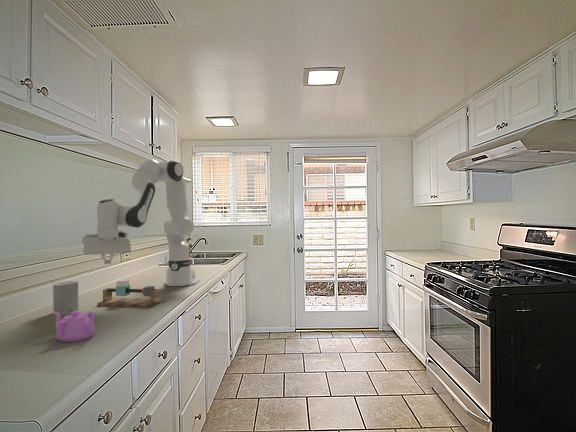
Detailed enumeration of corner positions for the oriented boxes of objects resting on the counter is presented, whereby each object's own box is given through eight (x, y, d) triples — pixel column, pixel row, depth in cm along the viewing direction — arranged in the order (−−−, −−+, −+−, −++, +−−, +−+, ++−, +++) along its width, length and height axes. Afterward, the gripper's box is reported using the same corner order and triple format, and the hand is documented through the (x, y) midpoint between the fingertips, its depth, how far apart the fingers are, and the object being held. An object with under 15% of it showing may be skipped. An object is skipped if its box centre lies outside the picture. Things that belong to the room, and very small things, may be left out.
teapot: (96, 340, 132) (96, 313, 131) (48, 346, 126) (47, 318, 126) (98, 330, 142) (97, 305, 142) (53, 335, 137) (53, 310, 137)
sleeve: (115, 296, 182) (115, 281, 182) (121, 294, 186) (121, 279, 186) (124, 296, 181) (124, 281, 181) (130, 294, 186) (129, 279, 186)
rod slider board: (97, 305, 180) (97, 291, 180) (113, 299, 191) (113, 286, 191) (150, 307, 175) (150, 292, 175) (163, 301, 187) (163, 287, 187)
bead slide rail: (103, 294, 183) (103, 286, 183) (109, 293, 187) (108, 285, 187) (153, 296, 179) (153, 287, 179) (158, 294, 183) (157, 286, 183)
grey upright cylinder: (51, 316, 163) (50, 286, 162) (55, 310, 172) (54, 282, 171) (77, 313, 166) (76, 284, 166) (80, 308, 175) (79, 280, 175)
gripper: (82, 234, 177) (82, 265, 177) (131, 233, 187) (131, 263, 187) (82, 234, 183) (82, 264, 183) (129, 233, 192) (130, 261, 192)
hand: (107, 263), depth 185 cm, fingers closed
